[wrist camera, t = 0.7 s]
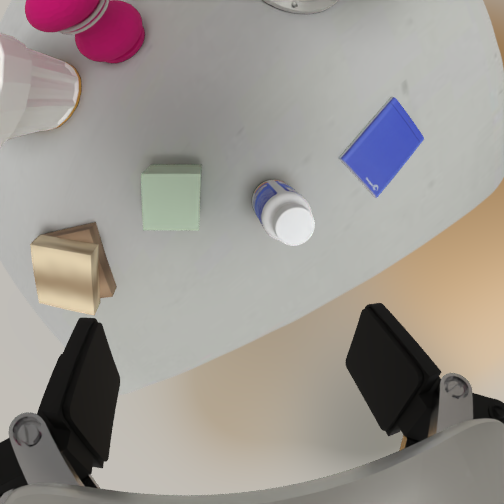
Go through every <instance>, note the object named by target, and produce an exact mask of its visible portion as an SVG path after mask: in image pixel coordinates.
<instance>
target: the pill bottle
mask: <svg viewBox="0 0 504 504" xmlns="http://www.w3.org/2000/svg"><path fill="white" fill-rule="evenodd" d="M252 206H253V209H254V211H255V213H256V215H257V217H258V218H259V220H260V222H261V224H262V226H263V228H264V229H265V231H266V232H267V233H268V235H270V236H271V237H272V238H274V239H276V240H279V241H281V242H283V243H284V244H287V245H291V246H296V245H300V244H302V243H304V242H306V241H307V240H308V239H309V238H310V237H311V235H312V234H313V231H314V227H315V221H314V218H313V216H312V211H311V207H310V205H309V203H308V202H307V200H306V199H305V198H304V197H302V196H301V195H300V194H299V193H298V192H296V191H295V190H294V189H293V188H291V187H290V186H289V185H288V184H286V183H285V182H282V181H280V180H268V181H265V182H263V183H262V184H260V185H259V186H258V187H257V188H256V190H255V191H254V194H253V197H252Z"/></svg>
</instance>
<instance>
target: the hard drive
mask: <svg viewBox="0 0 504 504" xmlns="http://www.w3.org/2000/svg"><path fill="white" fill-rule="evenodd" d="M423 140H424V137H423V136H422V134H421V133H420V131H419V130H418V128H417V127H416V125H415V124H414V122H413V121H412V120H411V118H410V117H409V115H408V114H407V113H406V111H405V110H404V108H403V107H402V106H401V104H400V103H399V102H398V101H397V99H396V98H394V97H391V98H390V99H389V100H388V101H387V102H386V104H385V105H384V106H383V107H382V108H381V109H380V111H379V112H378V113H377V114H376V115H375V116H374V118H373V119H372V120H371V121H370V122H369V123H368V125H367V126H366V127H365V128H364V129H363V130H362V132H361V133H360V134H359V135H358V136H357V137H356V139H355V140H354V141H353V142H352V143H351V144H350V145H349V147H348V148H347V149H346V150H345V151H344V152H343V154H342V155H341V156H340V157H339V159H340V160H341V161H342V162H343V163H344V164H345V166H346V167H347V168H348V169H349V170H350V171H351V172H352V173H353V174H354V175H355V176H356V177H357V178H358V179H359V180H360V182H361V183H362V184H363V185H364V186H365V187H366V188H367V189H368V190H369V192H370V193H371V194H372V195H373V196H374V197H376V198H377V197H378V196H379V195H380V193H381V192H382V191H383V190H384V189H385V187H386V186H387V185H388V184H389V183H390V181H391V180H392V179H393V178H394V176H395V175H396V174H397V173H398V171H399V170H400V169H401V168H402V166H403V165H404V164H405V163H406V161H407V160H408V159H409V158H410V156H411V155H412V154H413V153H414V151H415V150H416V149H417V147H418V146H419V145H420V144H421V142H422V141H423Z"/></svg>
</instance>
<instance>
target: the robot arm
mask: <svg viewBox="0 0 504 504" xmlns="http://www.w3.org/2000/svg"><path fill="white" fill-rule="evenodd" d="M263 1H265V2H266V3H268V4H270V5H272V6H274V7H276V8H278V9H281V10H284V11H288V12H292V13H299V14H313V13H318V12H322V11H324V10H326V9H328V8H330V7H331V6H333V5H334V4H335V3H336V2H337V1H338V0H263ZM292 6H293V7H294V8H293V7H292ZM346 367H347V369H348V371H349V372H350V374H351V376H352V378H353V379H354V381H355V383H356V385H357V386H358V388H359V390H360V392H361V394H362V395H363V397H364V399H365V401H366V402H367V404H368V406H369V408H370V410H371V412H372V413H373V415H374V417H375V419H376V421H377V422H378V424H379V426H380V428H381V429H382V430H384V431H386V433H387V435H388V436H390V435H393V434H395V433H398V432H400V430H401V431H402V433H403V438H402V442H401V446H400V450H399V451H398V452H396V453H393V454H391V455H388V456H386V457H383V458H381V459H378V460H376V461H373V462H370V463H368V464H365V465H362V466H359V467H356V468H353V469H350V470H347V471H344V472H341V473H337V474H334V475H331V476H327V477H323V478H319V479H315V480H311V481H307V482H303V483H298V484H293V485H289V486H283V487H278V488H272V489H266V490H259V491H251V492H242V493H232V494H219V495H191V496H182V495H180V496H178V495H155V494H139V493H128V492H120V491H113V490H105V489H100V487H99V486H98V484H97V483H96V482H95V480H94V479H93V478H92V476H91V472H92V467H98V468H103V463H104V461H107V460H108V457H109V448H110V440H111V434H112V426H113V420H114V414H115V408H116V403H117V397H118V392H119V386H120V376H119V373H118V371H117V368H116V365H115V362H114V360H113V357H112V354H111V351H110V348H109V345H108V342H107V339H106V336H105V332H104V329H103V326H102V324H101V323H98V322H97V320H96V319H95V318H80V319H79V320H78V322H77V324H76V326H75V328H74V330H73V332H72V334H71V337H70V339H69V341H68V343H67V345H66V348H65V350H64V352H63V354H61V356H60V357H59V359H58V361H57V364H56V366H55V368H54V370H53V373H52V376H51V378H50V380H49V383H48V385H47V388H46V390H45V393H44V396H43V399H42V401H41V404H40V407H39V410H38V413H37V414H34V413H23V414H20V415H18V416H17V417H15V419H14V420H13V421H12V423H11V425H10V427H9V438H8V439H6V440H5V441H3V442H1V443H0V504H504V403H503V402H501V401H499V400H496V399H492V398H488V397H484V396H481V395H478V394H474V393H472V388H471V385H470V383H469V382H468V381H467V380H466V378H464V377H463V376H461V375H459V374H455V373H449V374H446V375H444V376H443V377H442V379H440V377H439V375H440V373H441V371H440V370H439V369H438V367H437V366H436V365H435V364H434V362H433V361H432V360H431V359H430V357H429V356H428V355H427V354H426V353H425V352H424V351H423V349H422V348H421V347H420V346H419V344H418V343H417V342H416V341H415V340H414V339H413V337H412V336H411V335H410V334H409V333H408V332H407V331H406V330H405V328H404V327H403V326H402V325H401V324H400V323H399V322H398V321H397V319H396V318H395V317H394V316H393V315H392V314H391V313H390V311H389V310H388V309H386V307H385V306H384V305H383V304H382V303H376V304H369V305H367V306H366V307H365V309H363V310H362V312H361V315H360V318H359V322H358V325H357V328H356V331H355V334H354V337H353V341H352V343H351V346H350V349H349V352H348V355H347V358H346Z"/></svg>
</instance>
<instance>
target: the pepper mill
mask: <svg viewBox="0 0 504 504" xmlns="http://www.w3.org/2000/svg"><path fill="white" fill-rule="evenodd" d="M25 13H26V17H27V20H28V21H29V23H30V24H31V25H32V26H33V27H34V28H36V29H38V30H40V31H44V32H61V33H62V34H66V35H73V34H75V42H76V45H77V47H78V49H79V51H80V52H81V53H82V54H83V55H84V56H86V57H87V58H89V59H91V60H93V61H99V62H104V61H105V62H108V63H119V62H123V61H125V60H127V59H129V58H131V57H132V56H133V55H134V54H135V53H136V52H137V51H138V50H139V49H140V47H141V46H142V44H143V41H144V37H145V32H144V28H143V26H142V19H141V16H140V14H139V12H138V11H137V10H136V9H135V8H134V7H133V6H132V5H130V4H128V3H126V2H123V1H118V0H112V1H110V0H26V5H25Z"/></svg>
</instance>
